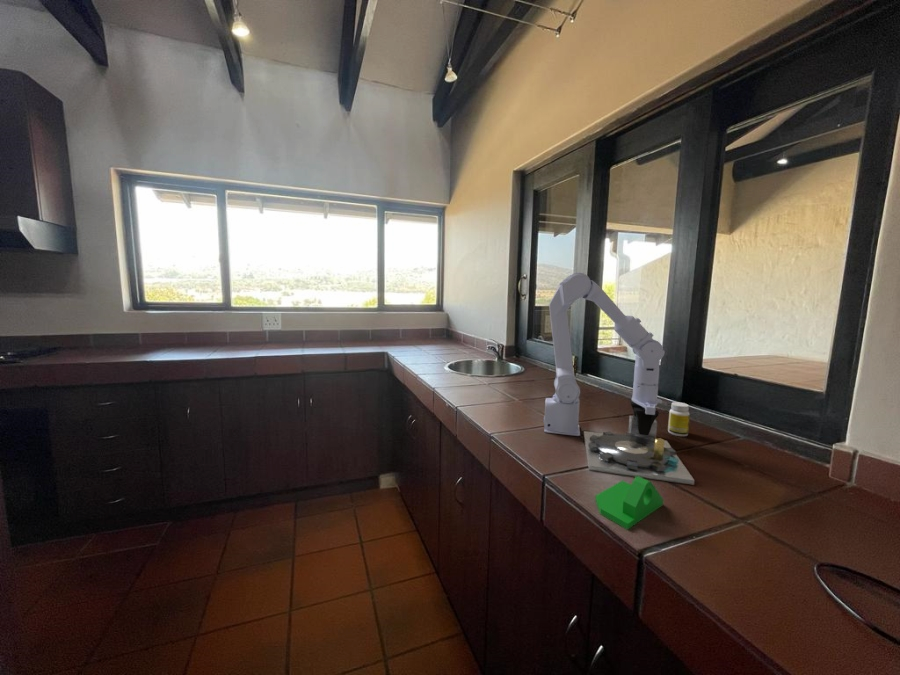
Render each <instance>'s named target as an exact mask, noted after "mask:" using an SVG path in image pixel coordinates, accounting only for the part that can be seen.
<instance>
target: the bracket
mask: <svg viewBox="0 0 900 675" xmlns="http://www.w3.org/2000/svg"><path fill="white" fill-rule="evenodd" d="M595 503H596V505H597V509H598V512H599V514H600V515H601V516H603V517H605V518H607V519H608V520H610V521H612V522H613V523H615V524H617V525H619V526H620V527H622V528H624V529H626V530H630V529H631V528H632V527H633V525H634V526H635V525H636V524H638V523H639V522H640V520H641V521H642V520H644V519H645V518H647V517H648V516H649V515H651V514H653V513H654V512H655V511H657V510H658V509H659V508H661V507H662V506H663V505H664V499H663V497H662V495H661V494H660V493H659V491H658V489H657V488H656V487H655V485H654V484H653V482H652V481H650V480H648V479H647V478H642V477H639V476H637V477H635V476H634V479H633V480H632V483H628V482H626V481H624V480H621V481H619V482H618V483H615V484H614V485H612V486H610V487H609V488H606V489H605V490H602V491H601V492H600V493H597V494H596V495H595ZM650 513H651V514H650ZM647 515H648V516H647ZM637 522H638V523H637Z"/></svg>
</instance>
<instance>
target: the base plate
mask: <svg viewBox="0 0 900 675" xmlns="http://www.w3.org/2000/svg"><path fill="white" fill-rule="evenodd" d="M592 435H595V436H602V435H603V432H602V433H601V432H594V431H593V432H592V431H583V439H584V440H583V441H584V446H585V452H586V453H585V454H586V459H587V460H586V462H587V466H588V471H594V472H595V471H596V472H602V473H608V474H615V475H622V476H627V477H629V476H630V477H634V478H635V477H637V476H639V477H641V478H643V479H650V480H656V481H657V480H658V481H664V482H671V483H677V484H684V485H690V486H692V485H693V486H694V485H695V481H696V480H695V479H694V478H693V476H692V474H690V472H689V470H688V469H687V467H686V466H685V464H683V462H682V460H681V459H680V457H679V456H678V455H677V454H676V455H671V457H673V458H677V459H679V461H678V464H677V466H674V465H671V464H667V465H665V466H666V471H656V470H654V469H653V468H644V467H638V468H637V470H634V469H629V468H627V465H626V464H622V463H619V462H616V461H613V460H612V461H609V462H607V461H605V460H603V459H601V458H600V455H601V454H600V453H599V452H598V451H593V450H590V449H589V447H588V445H589V443H593V444H595V442H593V441H590V437H591V436H592ZM645 439H648V438H645ZM664 440H665V439H664ZM664 447H665V448H672V446H671V445H670V443H669V442H668V440H665V441H664Z"/></svg>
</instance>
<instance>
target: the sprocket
mask: <svg viewBox="0 0 900 675" xmlns="http://www.w3.org/2000/svg"><path fill="white" fill-rule="evenodd" d="M602 433H603V435H602V436H595V435H592V436H591V437H590V441H593V442H595V444H593V443H589V445H588V447H589V449H590V450H593V451H598V452H599V453H600V454H601V455H600V458H601V459H603V460H605V461H607V462H609V461H612V460H613V461H616V462H619V463H622V464H626V465H627V468H629V469H634V470H637V468H638V467H644V468H653V469H654V470H656V471H666V466H665V465H667V464H671V465H674V466H677V464H678V461H679V459H680V458H679V459H677V458H673V457H671V455H677V451H676V450H675V449H674V448H673V447H671V448H665V447H664V441H665V439H663V438H661V437H656V438H655V439H653V438H650V439H645V438H642V437H638V436H635V435H634V433H628V431H626V432H625V434H624V433H613V432H612V431H603V432H602Z"/></svg>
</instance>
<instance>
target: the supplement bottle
mask: <svg viewBox="0 0 900 675" xmlns="http://www.w3.org/2000/svg"><path fill="white" fill-rule="evenodd" d="M670 407H671V408H670V409H669V412H668V424H667V431H668V433H669V434H671V435H673V436H676V437H677V436H678V437H687V436H688V435H689V428H690V418H691V417H690V416H691V414H690V412H689V409H690V406H689V404H687V403H685V402H678V401H673V402H671V405H670Z"/></svg>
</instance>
